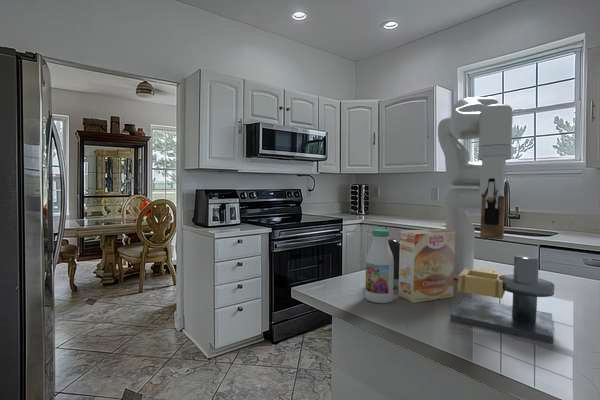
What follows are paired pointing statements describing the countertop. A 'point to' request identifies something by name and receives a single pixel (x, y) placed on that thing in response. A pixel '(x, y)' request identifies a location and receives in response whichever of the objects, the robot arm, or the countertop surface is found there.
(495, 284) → the ochre bracket
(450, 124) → the robot arm
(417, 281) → the coffeecake box
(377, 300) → the milk bottle
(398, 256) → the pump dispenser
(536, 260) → the ringlock post
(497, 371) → the countertop surface
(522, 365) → the countertop surface
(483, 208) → the walnut wedge
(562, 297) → the countertop surface
